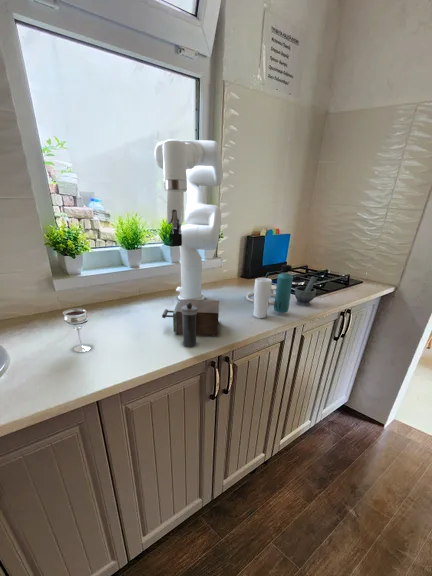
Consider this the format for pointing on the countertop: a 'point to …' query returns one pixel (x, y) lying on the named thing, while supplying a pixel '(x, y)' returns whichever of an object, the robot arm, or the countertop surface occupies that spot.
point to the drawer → (172, 316)
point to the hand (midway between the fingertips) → (177, 245)
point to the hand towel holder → (270, 295)
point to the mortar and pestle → (305, 293)
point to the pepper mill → (189, 325)
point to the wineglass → (77, 324)
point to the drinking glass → (261, 296)
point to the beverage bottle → (283, 290)
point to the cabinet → (201, 317)
